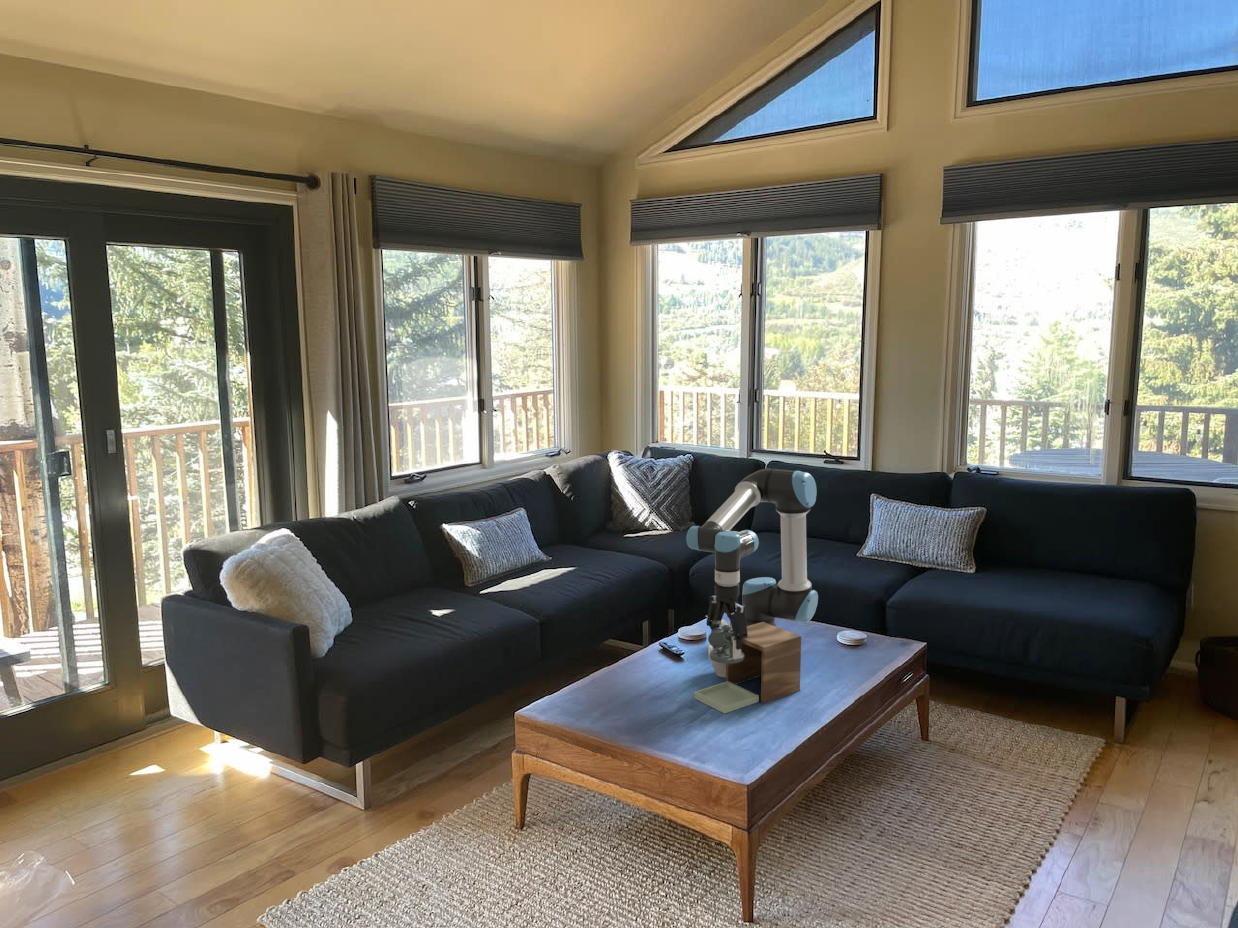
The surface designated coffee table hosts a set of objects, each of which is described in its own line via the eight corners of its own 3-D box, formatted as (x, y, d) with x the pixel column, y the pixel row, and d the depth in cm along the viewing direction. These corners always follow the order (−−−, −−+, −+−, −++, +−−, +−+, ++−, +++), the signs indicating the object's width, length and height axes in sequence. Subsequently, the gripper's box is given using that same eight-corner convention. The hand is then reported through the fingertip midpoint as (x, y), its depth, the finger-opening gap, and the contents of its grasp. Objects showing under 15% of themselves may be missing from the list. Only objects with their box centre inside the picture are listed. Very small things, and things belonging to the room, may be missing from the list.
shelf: (725, 685, 307) (726, 631, 304) (762, 673, 316) (762, 621, 313) (763, 703, 293) (764, 647, 290) (799, 690, 303) (801, 636, 300)
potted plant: (747, 670, 319) (748, 598, 315) (736, 683, 309) (737, 609, 304) (711, 664, 324) (712, 593, 320) (699, 677, 314) (700, 604, 310)
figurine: (740, 665, 287) (740, 627, 285) (705, 661, 290) (705, 623, 288) (747, 653, 297) (748, 616, 294) (713, 649, 300) (713, 612, 298)
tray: (694, 698, 297) (694, 691, 297) (727, 687, 306) (727, 680, 305) (724, 713, 286) (724, 706, 286) (758, 701, 294) (758, 695, 294)
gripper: (694, 577, 296) (694, 646, 300) (742, 593, 279) (741, 667, 283) (713, 572, 300) (712, 641, 304) (761, 589, 283) (759, 661, 287)
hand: (726, 653), depth 293 cm, fingers closed on figurine, 9 cm apart
